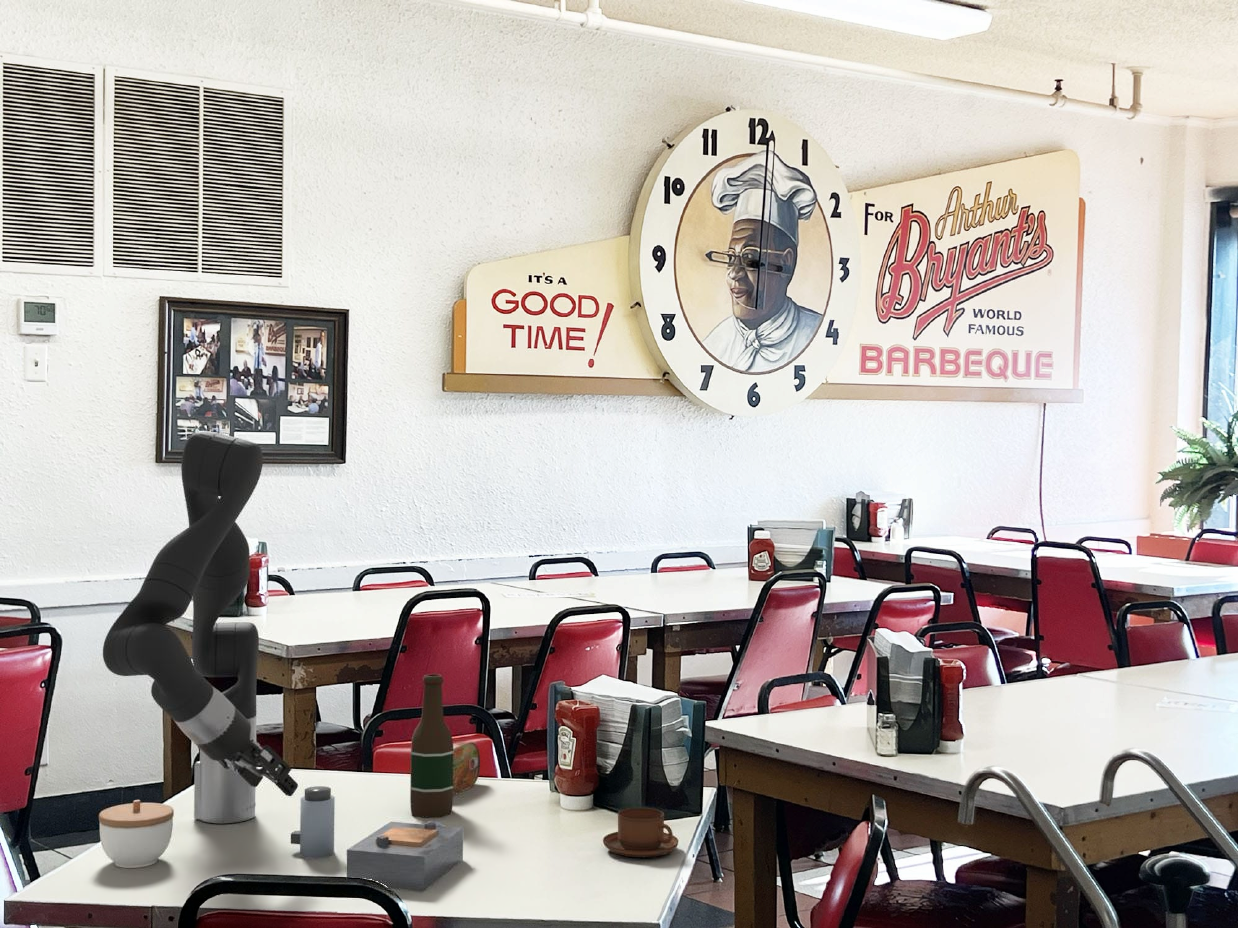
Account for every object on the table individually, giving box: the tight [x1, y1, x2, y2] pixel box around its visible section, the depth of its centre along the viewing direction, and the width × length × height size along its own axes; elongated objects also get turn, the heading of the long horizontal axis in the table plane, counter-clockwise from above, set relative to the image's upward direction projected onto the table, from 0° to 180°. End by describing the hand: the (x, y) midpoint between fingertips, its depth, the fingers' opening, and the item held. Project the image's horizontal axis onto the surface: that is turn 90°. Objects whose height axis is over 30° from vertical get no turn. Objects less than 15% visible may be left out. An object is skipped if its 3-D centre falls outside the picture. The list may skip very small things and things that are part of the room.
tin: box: [453, 741, 481, 796], centre depth 256 cm, size 15×3×8 cm, turn 159°
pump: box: [290, 785, 336, 859], centre depth 215 cm, size 7×5×10 cm
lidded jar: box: [98, 799, 175, 869], centre depth 209 cm, size 11×11×9 cm
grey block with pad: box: [346, 820, 464, 892], centre depth 208 cm, size 12×21×6 cm, turn 166°
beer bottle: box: [409, 673, 454, 819], centre depth 240 cm, size 8×8×24 cm
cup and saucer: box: [602, 807, 679, 858], centre depth 218 cm, size 12×12×6 cm
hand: (275, 786), depth 208 cm, fingers open, 8 cm apart
